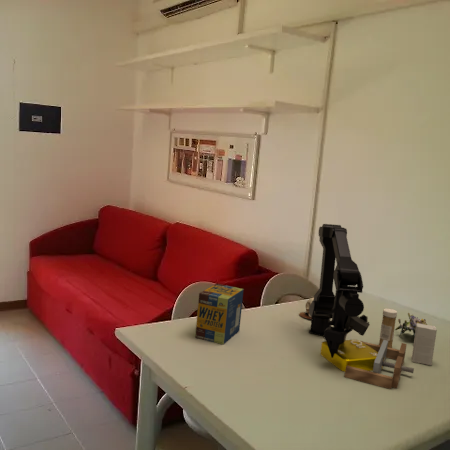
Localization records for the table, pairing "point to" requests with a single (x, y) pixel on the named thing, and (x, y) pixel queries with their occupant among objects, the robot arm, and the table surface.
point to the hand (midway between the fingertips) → (336, 353)
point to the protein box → (219, 313)
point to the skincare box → (424, 344)
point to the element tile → (351, 355)
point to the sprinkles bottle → (388, 326)
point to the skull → (307, 309)
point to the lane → (376, 377)
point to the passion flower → (410, 324)
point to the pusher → (380, 362)
